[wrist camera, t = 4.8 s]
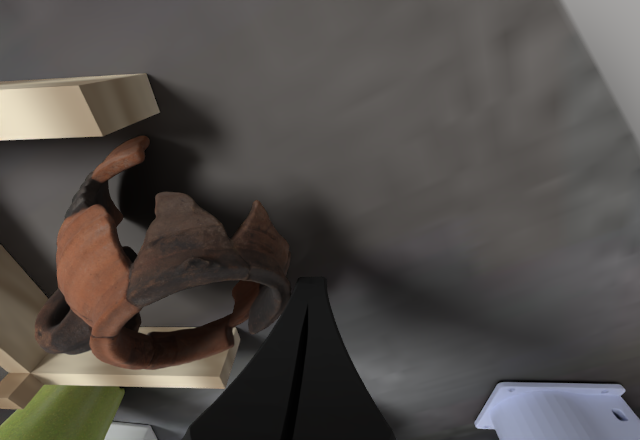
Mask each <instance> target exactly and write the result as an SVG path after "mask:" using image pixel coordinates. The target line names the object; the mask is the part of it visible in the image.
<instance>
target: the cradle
mask: <svg viewBox="0 0 640 440" xmlns="http://www.w3.org/2000/svg"><path fill="white" fill-rule="evenodd" d="M158 113H160V111H159V108H158V105H157V102H156V100H155V97H154V94H153V91H152V88H151V85H150V83H149V80H148V77H147V74H146V73H144V74H127V75H109V76H92V77H74V78H56V79H39V80H21V81H4V82H0V141H1V140H25V139H49V138H73V137H97V136H105V135H107V134H110V133H112V132H114V131H117V130H119V129H122V128H124V127H126V126H129V125H131V124H134V123H136V122H138V121H141V120H143V119H146V118H148V117H151V116H153V115H155V114H158ZM47 301H48V298H47V296H46V295H45V294H44V293H43V292H42V291H41V290H40V289H39V287H38V286H37V285H36V284H35V283H34V282H33V281H32V279H31V278H30V277H29V276H28V275H27V274H26V273H25V271H24V270H23V269H22V268H21V267H20V266H19V265H18V263H17V262H16V261H15V260H14V259H13V258H12V257H11V255H10V254H9V253H8V252H7V251H6V250H5V249H4V247H3V246H2V245H1V244H0V366H1V367H3V368H4V369H5V370H6V371H8V372H9V373H8V374H7V375H6V376H5V378H4V379H3V380H2V381H1V382H0V408H1V409H24V408H25V407H26V406H27V404H28V403H29V402H30V401H31V400H32V398H33V397H34V396H35V395H36V394H37V392H38V391H39V390H40V389H41V388H42V387H43V385H80V386H125V387H171V388H217V389H225V388H226V385H227V381H228V378H229V375H230V372H231V369H232V365H233V362H234V359H235V356H236V353H237V349H238V346H239V343H240V337H239V334H238V331H237V329H236V328H233V331H232V332H233V335H234V346H233V347H232V348H230V349H228V350H226V351H224V352H221V353H218V354H216V355H213V356H210V357H207V358H203V359H201V360H196V361H193V362H191V363H186V364H182V365H178V366H171V367H166V368H162V369H156V370H146V369H141V370H131V369H125V368H120V367H116V366H112V365H110V364H107V363H104V362H102V361H100V360H99V359H97V358H96V356H95V355H94V354H93V353H92V351H91V350H90V351H87V352H84V353H81V354H76V355H68V354H65V353H62V354H51V353H47V352H46V351H44V349H42V348H41V347H40V346H39V344H38V343H37V341H36V340H35V321H36V318H37V315H38V313H39V312H40V311H41V309H42V308H43V306H44V305H45V303H46V302H47ZM189 328H196V327H139V331H138V332H140V333H143V334H146V335H147V334H148V333H150V332H153V331H156V332H171V331H176V330H182V329H189Z"/></svg>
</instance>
